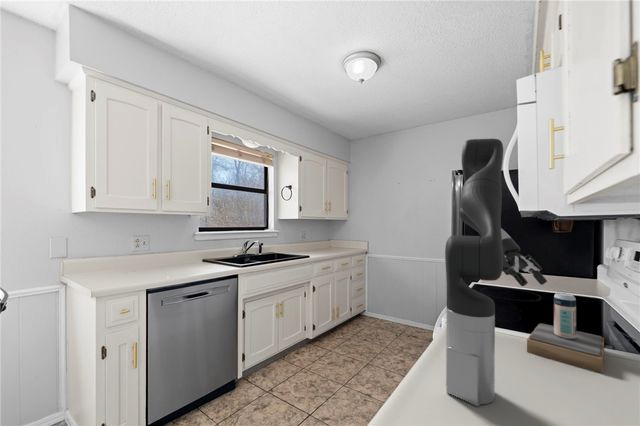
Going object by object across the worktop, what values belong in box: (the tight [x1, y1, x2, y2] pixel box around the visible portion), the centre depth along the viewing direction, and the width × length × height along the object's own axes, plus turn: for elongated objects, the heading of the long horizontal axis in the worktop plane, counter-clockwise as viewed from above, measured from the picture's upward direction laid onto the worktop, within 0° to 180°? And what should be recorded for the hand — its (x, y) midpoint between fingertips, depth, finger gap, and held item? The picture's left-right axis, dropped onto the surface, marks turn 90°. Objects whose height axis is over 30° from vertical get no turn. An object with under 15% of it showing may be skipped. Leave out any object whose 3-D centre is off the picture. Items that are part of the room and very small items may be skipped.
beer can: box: [553, 292, 577, 339], centre depth 81 cm, size 5×5×12 cm
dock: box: [526, 322, 605, 374], centre depth 81 cm, size 18×15×4 cm
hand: (534, 284), depth 89 cm, fingers open, 8 cm apart
